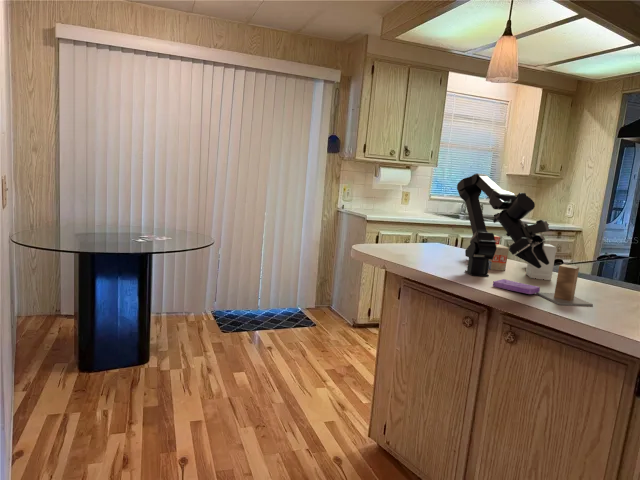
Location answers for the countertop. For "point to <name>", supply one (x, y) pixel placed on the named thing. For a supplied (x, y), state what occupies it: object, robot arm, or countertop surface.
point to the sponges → (516, 286)
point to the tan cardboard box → (499, 256)
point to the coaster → (574, 302)
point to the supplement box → (543, 265)
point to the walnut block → (566, 282)
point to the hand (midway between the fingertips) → (544, 265)
